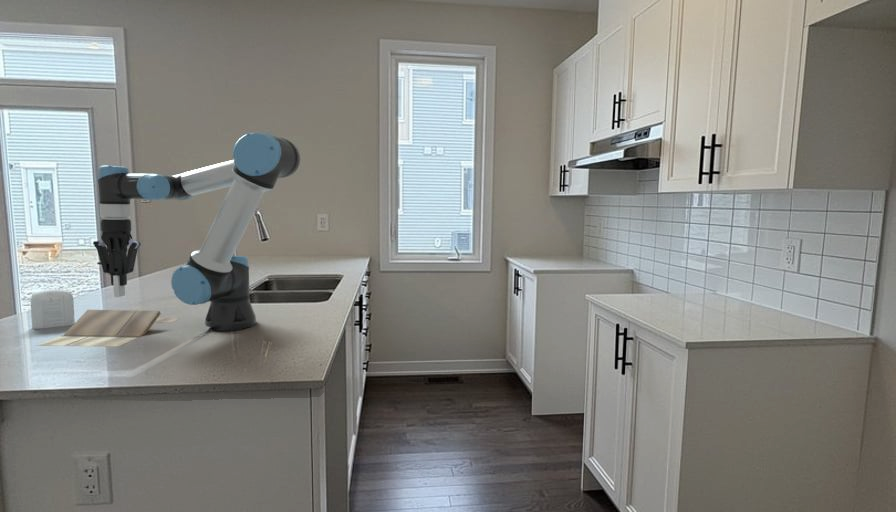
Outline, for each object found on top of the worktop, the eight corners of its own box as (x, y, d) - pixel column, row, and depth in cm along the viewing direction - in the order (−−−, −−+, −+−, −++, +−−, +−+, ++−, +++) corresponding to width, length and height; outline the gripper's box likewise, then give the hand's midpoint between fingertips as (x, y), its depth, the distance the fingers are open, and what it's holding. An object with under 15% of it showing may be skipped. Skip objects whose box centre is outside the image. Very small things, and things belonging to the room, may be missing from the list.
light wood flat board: (139, 340, 137) (139, 336, 137) (118, 350, 128) (118, 346, 128) (63, 339, 137) (62, 335, 137) (36, 349, 128) (35, 344, 128)
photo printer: (76, 325, 152) (73, 287, 150) (74, 328, 148) (71, 289, 147) (33, 329, 146) (30, 290, 145) (31, 333, 143) (27, 292, 141)
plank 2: (180, 321, 158) (180, 318, 158) (172, 326, 153) (172, 322, 153) (116, 322, 157) (116, 318, 156) (106, 326, 151) (106, 322, 151)
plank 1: (160, 313, 147) (159, 310, 146) (141, 339, 138) (140, 336, 137) (89, 312, 147) (87, 309, 146) (65, 337, 138) (63, 334, 137)
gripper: (145, 218, 146) (148, 294, 148) (103, 217, 146) (107, 292, 148) (129, 219, 138) (132, 299, 141) (84, 218, 138) (89, 297, 141)
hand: (119, 295), depth 145 cm, fingers closed
